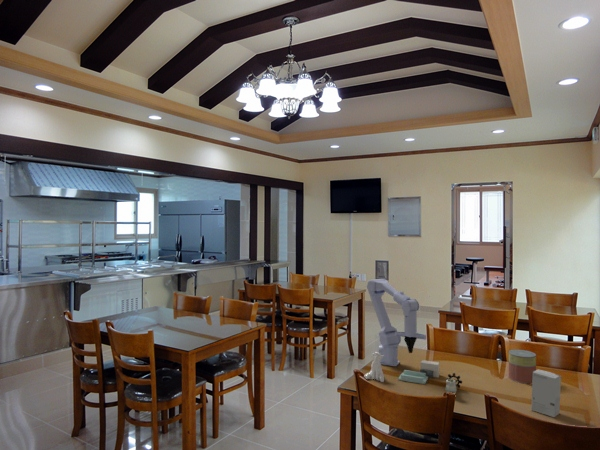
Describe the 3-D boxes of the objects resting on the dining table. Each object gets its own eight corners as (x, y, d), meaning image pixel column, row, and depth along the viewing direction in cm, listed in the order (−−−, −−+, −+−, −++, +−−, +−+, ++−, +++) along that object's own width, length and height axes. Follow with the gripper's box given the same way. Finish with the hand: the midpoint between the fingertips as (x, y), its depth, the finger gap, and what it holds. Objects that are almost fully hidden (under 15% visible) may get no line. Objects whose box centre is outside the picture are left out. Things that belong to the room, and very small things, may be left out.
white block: (420, 375, 195) (420, 362, 195) (422, 372, 199) (422, 360, 199) (438, 377, 191) (438, 365, 192) (439, 375, 195) (439, 362, 195)
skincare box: (531, 410, 157) (530, 371, 157) (537, 406, 161) (537, 368, 161) (555, 418, 150) (555, 377, 150) (561, 413, 154) (561, 374, 154)
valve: (458, 399, 167) (462, 389, 178) (458, 383, 167) (462, 374, 178) (441, 396, 170) (446, 386, 181) (441, 380, 170) (446, 371, 181)
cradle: (398, 379, 189) (398, 374, 189) (402, 374, 196) (402, 369, 196) (425, 384, 183) (425, 378, 183) (428, 378, 191) (428, 373, 191)
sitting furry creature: (363, 379, 190) (363, 353, 190) (368, 373, 198) (368, 348, 198) (383, 382, 186) (383, 356, 186) (388, 376, 193) (387, 351, 194)
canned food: (535, 376, 192) (534, 351, 192) (537, 385, 182) (537, 358, 182) (508, 373, 197) (507, 348, 197) (509, 381, 186) (508, 355, 186)
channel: (419, 375, 194) (419, 369, 194) (422, 371, 200) (422, 364, 200) (433, 378, 191) (433, 371, 191) (435, 373, 197) (435, 366, 197)
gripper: (393, 324, 199) (393, 352, 199) (424, 327, 192) (424, 356, 192) (397, 321, 205) (397, 348, 205) (426, 324, 199) (427, 352, 199)
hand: (410, 352), depth 199 cm, fingers closed
